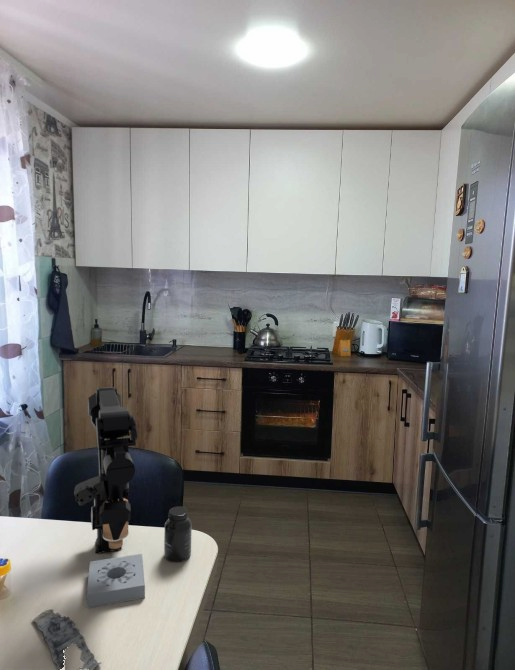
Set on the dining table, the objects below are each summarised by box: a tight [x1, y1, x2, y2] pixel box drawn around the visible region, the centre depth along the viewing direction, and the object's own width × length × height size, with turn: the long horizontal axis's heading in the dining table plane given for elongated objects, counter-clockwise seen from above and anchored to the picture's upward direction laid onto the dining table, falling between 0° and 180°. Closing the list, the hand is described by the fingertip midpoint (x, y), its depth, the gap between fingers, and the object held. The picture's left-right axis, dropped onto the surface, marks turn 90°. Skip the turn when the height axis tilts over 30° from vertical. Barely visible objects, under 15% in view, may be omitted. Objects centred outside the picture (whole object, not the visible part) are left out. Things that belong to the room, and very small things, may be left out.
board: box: [86, 553, 146, 609], centre depth 103 cm, size 12×12×3 cm
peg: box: [103, 499, 130, 549], centre depth 102 cm, size 6×6×10 cm
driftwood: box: [32, 608, 102, 670], centre depth 87 cm, size 21×7×2 cm, turn 40°
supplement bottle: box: [163, 506, 193, 563], centre depth 115 cm, size 7×7×12 cm
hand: (115, 532), depth 102 cm, fingers closed on peg, 5 cm apart
